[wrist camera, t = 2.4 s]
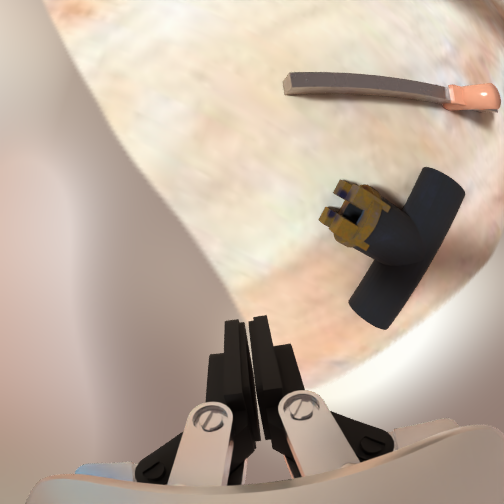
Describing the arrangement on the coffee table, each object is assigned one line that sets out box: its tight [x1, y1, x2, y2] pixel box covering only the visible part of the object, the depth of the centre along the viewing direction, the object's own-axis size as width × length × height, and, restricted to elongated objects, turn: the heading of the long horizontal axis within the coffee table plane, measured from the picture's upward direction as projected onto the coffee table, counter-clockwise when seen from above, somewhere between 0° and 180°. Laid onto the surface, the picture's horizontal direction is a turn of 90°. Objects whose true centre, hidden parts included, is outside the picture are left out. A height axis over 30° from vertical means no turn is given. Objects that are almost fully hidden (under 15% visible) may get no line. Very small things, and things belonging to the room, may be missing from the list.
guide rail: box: [283, 72, 501, 112], centre depth 17 cm, size 2×24×7 cm, turn 97°
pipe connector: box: [319, 167, 465, 330], centre depth 23 cm, size 12×5×15 cm
